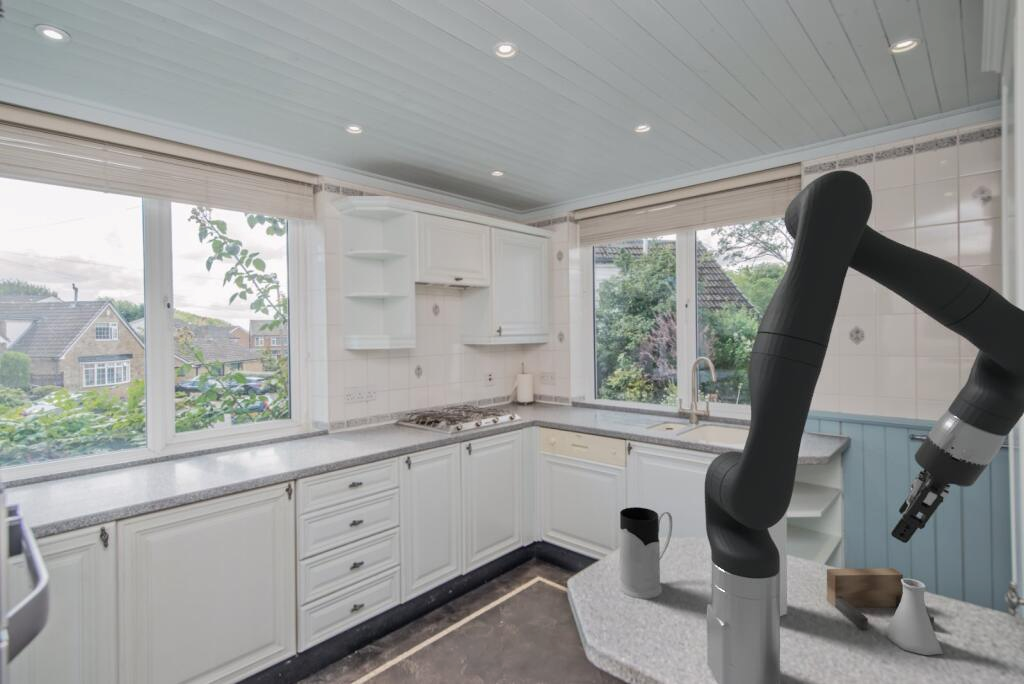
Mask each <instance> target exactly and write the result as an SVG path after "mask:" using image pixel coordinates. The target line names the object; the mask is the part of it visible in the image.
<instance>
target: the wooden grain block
mask: <svg viewBox="0 0 1024 684" xmlns="http://www.w3.org/2000/svg"><path fill="white" fill-rule="evenodd" d="M901 579H904V575H903V573H901V572H900V571H898V570H896V569H895V568H893V567H890V568H887V567H886V568H885V567H883V568H876V567H875V568H827V569H826V601H827V602H829V604H831V606H833V607H834V608H835V609H836V610H838V611H839V612H840V613H841V614H842V615H843V616H844V617H846V619H848V620H849V621H850V622H851V623H852V624H853V625H854V626H856V627H857V628H858V629H859V630H860V631H868V630H869V622H868V621H869V618H868V617H867V616H866V615H865V614H863V613H862V612H861V611H859V610H858V609H857V608H891V607H892V608H896V609H897V608H898V606H899V604H900V602H901V598H902V594H903V585H902V582H901ZM927 614H928V616H929V619H930V622H931V625H932V627H933V630H935V617H933V616H932V615H930V614H929V612H927Z"/></svg>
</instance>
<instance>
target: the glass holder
mask: <svg viewBox="0 0 1024 684" xmlns="http://www.w3.org/2000/svg"><path fill="white" fill-rule="evenodd" d="M665 514H667V516H668V531H667V536H666V540H665V541H664V542H665V543H664V545H663V546H662V549H661V551H660V546H661V545H660V539H659V534H660V533H659V532H660V522H661V519H662V518H663V516H664V515H665ZM619 516H620V517H619V521H620V522H619V524H620V526H619V580H618V582H617V587H618V589H619V591H620V592H621V593H622V594H624V595H626V596H627V597H632V598H634V599H641V600H642V599H643V600H646V599H653V598H654V599H655V598H657V597H659V596H661V595H662V592H663V587H662V584H661V564H660V563H661V559H662V557H663V555H664V554H665V552H666V551H667V549H668V547H669V544H670V541H671V537H672V533H673V532H672V531H673V516H672V515H671V513H670V512H669V511H666V510H663V511H661V512H660V513H658V512H657V511H655V510H653V509H650V508H646V507H641V506H640V507H637V506H635V507H633V506H632V507H626V508H622V509H621V510H620V512H619Z"/></svg>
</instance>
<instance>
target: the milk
mask: <svg viewBox="0 0 1024 684" xmlns="http://www.w3.org/2000/svg"><path fill="white" fill-rule="evenodd" d="M787 512H788V511H786V513H785V514H784V516H783V517H782V519H781V520H780V521H779V522H778V523H777V524H775V525H774V526H772V527H770V528H768V531H769V534H770V536H771V538H772V540H773V541H774V543H775V545H776V547H777V549H778V551H779V556H780V617H781V616H786V615H787V614H788V560H787V559H788V547H787V543H788V531H787V530H788V525H787V524H788V522H787V521H788V519H787V518H788V513H787Z"/></svg>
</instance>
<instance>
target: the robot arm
mask: <svg viewBox="0 0 1024 684" xmlns="http://www.w3.org/2000/svg"><path fill="white" fill-rule="evenodd" d="M872 210H873V195H872V191H871V188H870V186H869V185H868V183H867V181H866V180H865V179H864V178H863V177H862V176H861V175H859V174H857V172H853V171H851V170H841V169H840V170H833V171H829V172H827V173H825V174H822V175H821V176H819V177H817V178H815V179H813V180H812V181H811V182H809V184H807V185H806V186H805V187H804V188H803V189H802V190H800V192H799V193H798V194H797V195H795V197H794V198H793V199H792V200H791V201H790V203H789V204H788V206H787V208H786V211H785V212H784V227H785V229H786V231H787V233H788V234H789V236H790V237H791V238H792V239H793V240H794V245H793V248H792V252H791V256H790V260H789V263H788V265H787V269H786V271H785V272H784V275H783V277H782V278H781V280H780V282H779V284H778V286H777V288H776V290H775V292H774V293H773V295H772V297H771V299H770V301H769V303H768V305H767V307H766V308H765V311H764V312H763V315H762V317H761V319H760V321H759V324H758V327H757V331H756V334H755V336H754V337H755V338H754V342H753V345H752V349H751V352H750V357H749V361H748V369H747V370H748V371H747V372H748V373H747V379H748V393H749V401H750V425H749V431H748V435H747V437H746V441H745V444H744V446H743V447H744V448H743V451H733V450H732V451H727V452H723V453H720V454H719V455H717V456H716V457H715V458H714V459H713V460H712V461H711V463H709V465H708V468H707V471H706V473H705V477H704V478H705V479H704V509H705V510H704V512H705V514H704V515H705V529H706V530H705V531H706V535H707V539H708V543H709V546H710V553H711V554H710V555H711V603H708V604H706V646H707V648H706V652H707V653H706V654H707V655H706V657H707V659H706V661H707V662H706V664H707V666H708V668H709V669H710V671H711V673H712V674H713V677H714V679H715V681H716V682H717V683H718V684H781V674H782V673H781V616H780V556H779V551H778V549H777V547H776V545H775V543H774V541H773V540H772V538H771V536H770V534H769V531H768V528H770V527H772V526H774V525H775V524H777V523H778V522H779V521H780V520H781V519H782V517H783V516H784V514H785V513H786V512H788V509H789V507H790V504H791V500H792V497H793V493H794V492H793V491H794V486H795V480H796V473H797V467H798V460H799V454H800V448H801V443H802V440H803V439H802V438H803V436H804V435H803V434H804V430H805V427H806V423H807V420H808V416H809V412H810V409H811V404H812V400H813V397H814V393H815V389H816V386H817V383H818V381H819V378H820V375H821V371H822V368H823V364H824V361H825V359H826V358H825V357H826V353H827V351H828V348H829V344H830V338H831V335H832V330H833V326H834V324H835V320H836V317H837V312H838V308H839V305H840V304H839V303H840V300H841V296H842V292H843V287H844V284H845V279H846V277H847V274H848V270H849V268H850V269H853V270H855V271H856V272H857V273H860V274H861V275H864V276H865V277H867V278H868V279H869V278H870V279H871V280H872V281H875V282H876V283H878V284H879V285H881V286H883V287H885V288H886V289H887V290H890V291H891V292H893V293H894V294H896V296H899V297H900V298H902V299H904V300H905V301H906V302H908V303H910V304H911V305H912V306H914V307H916V308H917V309H918V310H920V311H921V312H922V313H924V314H926V315H927V316H928V317H930V318H931V319H933V320H934V321H936V322H938V323H939V324H940V325H942V326H944V327H945V328H947V329H948V330H950V331H952V332H954V333H955V334H957V335H959V336H961V337H962V338H964V339H965V340H967V341H968V342H969V343H971V344H972V345H973V346H974V347H976V348H977V349H978V352H977V355H976V358H975V359H974V362H973V364H972V367H971V368H970V373H969V375H968V378H967V381H966V383H965V385H964V386H963V387H962V389H960V391H959V392H958V394H957V395H956V397H955V398H954V400H953V401H952V403H951V404H950V406H948V408H947V410H946V411H945V412H944V413H943V414H942V415H941V416H940V417H939V418H938V420H937V421H936V422H935V424H934V426H933V427H932V428H931V430H930V432H929V433H928V435H926V436H925V439H924V440H923V442H922V443H921V445H919V447H918V449H917V450H916V452H915V454H914V460H915V462H916V463H917V465H918V466H920V467H921V468H922V470H919V471H918V473H917V475H916V477H915V479H914V480H913V482H912V484H911V485H910V487H911V488H910V489H909V494H908V495H907V497H906V499H905V500H904V501H903V503H902V505H901V506H900V507H899V509H898V512H899V513H900V514H901V517H900V519H899V520H898V522H897V523H896V525H895V526H894V528H893V529H892V530H891V532H890V533H891V534H890V535H891V536H892V537H893V538H895V539H896V540H898V541H900V542H902V543H904V544H906V543H908V542H909V541H910V540H911V538H912V537H913V535H914V534H915V533H916V531H918V529H919V530H923V529H924V528H925V527H926V524H927V523H928V522H929V520H930V518H932V516H933V515H935V513H936V511H937V510H938V508H939V507H940V505H941V504H943V502H944V500H945V499H947V497H948V495H949V494H950V490H949V488H950V487H951V485H956V486H958V487H964V488H965V487H966V488H967V487H972V486H973V485H975V483H976V482H977V480H978V479H979V477H981V475H982V473H983V472H984V471H985V470H986V468H987V467H988V466H989V464H991V461H992V460H993V459H994V458H995V456H996V455H997V454H998V453H999V451H1000V449H1001V448H1002V446H1003V444H1004V442H1005V440H1006V438H1007V437H1008V435H1009V434H1010V432H1011V431H1012V429H1014V427H1016V425H1017V423H1019V420H1021V418H1022V417H1023V416H1024V309H1021V308H1020V307H1018V306H1017V305H1015V304H1013V303H1012V302H1010V301H1009V300H1007V299H1006V298H1005V297H1004V296H1003V295H1002V294H1001V293H1000V292H998V291H997V290H995V289H994V288H993V287H991V286H990V285H988V284H986V283H985V282H984V281H982V280H980V279H979V278H978V277H976V276H974V275H973V274H971V273H969V272H968V271H967V270H965V269H963V268H961V267H960V266H958V265H956V264H955V263H952V262H950V261H948V260H945V259H944V258H941V257H938V256H935V255H933V254H930V253H927V252H926V251H925V252H924V251H922V250H919V249H916V248H914V247H913V248H912V247H910V246H907V245H905V244H903V243H900V242H898V241H896V240H893V239H892V238H889V237H887V236H885V235H883V234H882V233H880V232H879V231H876V230H875V229H873V228H872V227H871V226H869V225H868V224H867V223H868V222H869V219H870V217H871V213H872ZM919 513H921V514H922V515H921V516H920V517H919V516H918V514H919Z"/></svg>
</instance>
